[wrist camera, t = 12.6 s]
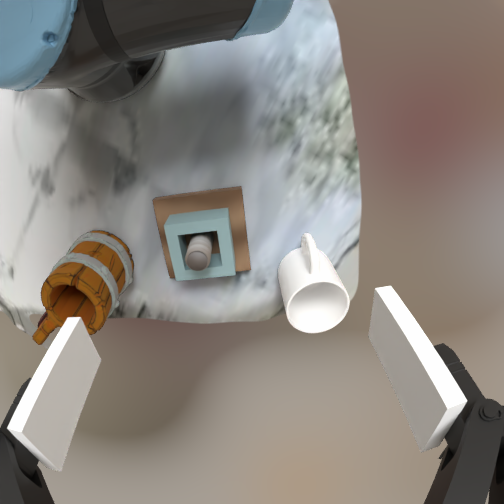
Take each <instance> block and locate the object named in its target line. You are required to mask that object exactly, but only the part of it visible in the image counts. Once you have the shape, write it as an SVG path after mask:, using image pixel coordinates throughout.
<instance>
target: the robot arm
mask: <svg viewBox="0 0 504 504" xmlns="http://www.w3.org/2000/svg"><path fill="white" fill-rule="evenodd" d="M293 1H294V0H0V88H1V89H11V90H15V91H24V90H29V89H52V88H67V89H68V90H69V91H70V92H71V93H73V94H74V95H75V96H77V97H79V98H81V99H84V100H87V101H91V102H112V101H117V100H121V99H123V98H126V97H128V96H130V95H132V94H134V93H135V92H137V91H138V90H140V89H141V88H142V87H143V86H144V85H146V84H147V83H148V82H149V80H150V79H151V78H152V77H153V76H154V74H155V73H156V71H157V70H158V68H159V66H160V64H161V62H162V59H163V56H164V53H165V51H166V50H171V49H175V48H180V47H185V46H190V45H195V44H200V43H206V42H212V41H219V40H226V41H233V40H234V39H238V38H239V37H243V36H250V35H256V34H264V33H268V32H270V31H272V30H275V28H278V27H279V26H280V25H281V24H282V23H283V22H284V21H285V19H286V18H287V16H288V14H289V12H290V10H291V7H292V4H293ZM368 337H369V339H370V341H371V343H372V345H373V347H374V349H375V351H376V353H377V355H378V357H379V359H380V362H381V363H382V366H383V368H384V370H385V372H386V374H387V376H388V379H389V381H390V382H391V385H392V387H393V389H394V391H395V394H396V396H397V398H398V400H399V403H400V405H401V407H402V409H403V412H404V414H405V416H406V418H407V421H408V423H409V425H410V428H411V430H412V432H413V435H414V437H415V439H416V442H417V444H418V447H419V449H420V452H424V451H427V450H430V449H432V448H435V447H438V446H439V445H440V444H441V442H442V441H443V439H444V438H445V439H446V441H447V444H448V445H447V447H446V448H445V450H444V451H443V452H442V454H441V455H440V457H439V459H441V458H442V457H443V458H442V461H441V463H440V466H439V469H438V471H437V474H436V476H435V479H434V481H433V484H432V486H431V489H430V491H429V493H428V495H427V498H426V500H425V502H424V504H485V502H486V498H487V495H488V492H489V502H488V504H504V406H501V405H500V404H499V403H498V402H496V401H494V400H492V399H486V398H485V397H484V396H483V395H482V393H481V391H480V390H479V388H478V387H477V385H476V384H475V382H474V381H473V379H472V377H471V376H470V374H469V373H468V372H467V370H465V367H464V365H463V364H462V362H460V360H459V358H458V357H457V355H456V354H455V352H454V351H453V350H452V349H450V348H449V347H448V346H446V345H445V344H443V343H442V344H439V345H436V346H433V345H432V344H431V342H430V341H429V339H428V338H427V336H426V335H425V333H424V332H423V331H422V329H421V327H420V326H419V325H418V323H417V322H416V320H415V319H414V317H413V316H412V314H411V313H410V312H409V310H408V309H407V307H406V306H405V305H404V303H403V302H402V300H401V299H400V298H399V296H398V295H397V293H396V292H395V291H394V289H393V288H392V287H391V286H386V287H380V288H375V293H374V301H373V309H372V317H371V323H370V330H369V336H368ZM100 362H101V359H100V356H99V354H98V352H97V351H96V348H95V346H94V344H93V342H92V340H91V338H90V336H89V334H88V332H87V330H86V327H85V325H84V323H83V321H82V318H81V317H68V318H67V320H66V321H65V323H64V325H63V326H62V328H61V329H60V331H59V333H58V335H57V336H56V338H55V339H54V341H53V343H52V344H51V346H50V348H49V349H48V351H47V353H46V354H45V356H44V358H43V360H42V361H41V363H40V365H39V367H38V369H37V371H36V372H35V374H34V376H33V378H29V379H28V380H27V381H26V382H25V383H24V384H23V385H22V386H21V388H20V390H19V392H18V394H17V397H15V399H14V401H13V404H12V405H11V407H10V409H9V411H8V413H7V415H6V417H5V419H4V421H3V424H2V425H1V428H0V504H54V501H53V499H52V497H51V495H50V492H49V490H48V487H47V485H46V482H45V480H44V477H43V475H42V472H41V470H40V469H39V467H38V466H37V464H38V461H40V462H41V463H42V464H43V465H44V466H45V467H47V468H49V469H53V470H57V471H61V470H62V467H63V464H64V461H65V458H66V455H67V451H68V449H69V445H70V442H71V439H72V437H73V434H74V431H75V428H76V425H77V422H78V419H79V416H80V414H81V411H82V408H83V406H84V403H85V400H86V398H87V395H88V392H89V390H90V387H91V385H92V382H93V380H94V377H95V375H96V372H97V370H98V367H99V365H100Z"/></svg>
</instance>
